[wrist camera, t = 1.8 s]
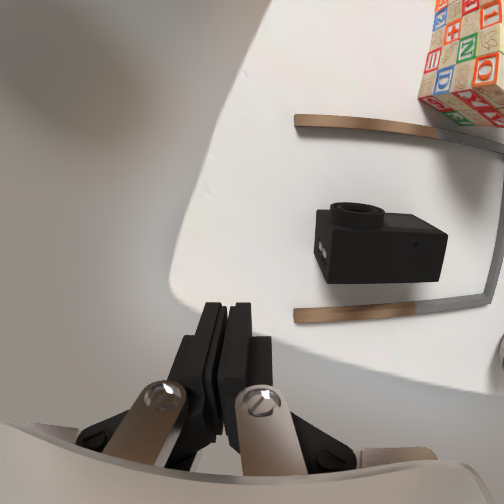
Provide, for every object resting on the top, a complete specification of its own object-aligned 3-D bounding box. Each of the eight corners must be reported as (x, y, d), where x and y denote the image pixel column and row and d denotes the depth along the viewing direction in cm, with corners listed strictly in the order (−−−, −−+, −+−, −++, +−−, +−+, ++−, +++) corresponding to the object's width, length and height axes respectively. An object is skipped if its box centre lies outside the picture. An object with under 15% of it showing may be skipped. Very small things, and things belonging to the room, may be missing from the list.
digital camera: (415, 202, 26) (452, 220, 19) (407, 253, 28) (440, 282, 21) (316, 196, 26) (334, 213, 20) (313, 252, 28) (327, 284, 21)
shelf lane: (431, 128, 23) (436, 128, 22) (411, 309, 30) (415, 314, 29) (294, 115, 24) (295, 114, 22) (293, 316, 30) (294, 322, 29)
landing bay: (509, 147, 22) (515, 148, 21) (486, 299, 29) (490, 303, 28) (431, 128, 23) (436, 128, 22) (411, 309, 30) (415, 314, 29)
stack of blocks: (437, -32, 15) (487, -70, 3) (476, -4, 15) (532, -30, 4) (416, 99, 22) (497, 84, 11) (460, 128, 23) (544, 132, 11)
